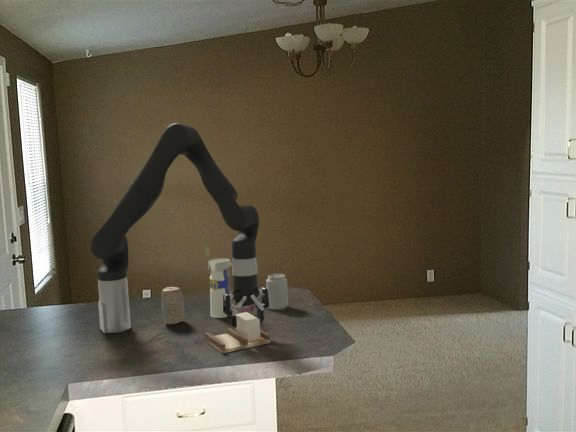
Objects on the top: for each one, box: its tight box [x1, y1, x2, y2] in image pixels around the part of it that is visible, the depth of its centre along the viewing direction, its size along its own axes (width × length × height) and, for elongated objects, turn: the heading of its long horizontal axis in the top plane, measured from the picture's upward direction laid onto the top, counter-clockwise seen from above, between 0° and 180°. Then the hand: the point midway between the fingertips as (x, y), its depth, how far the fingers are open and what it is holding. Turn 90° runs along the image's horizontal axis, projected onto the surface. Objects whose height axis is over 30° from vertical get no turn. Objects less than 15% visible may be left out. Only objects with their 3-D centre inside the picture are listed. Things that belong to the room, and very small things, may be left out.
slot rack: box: [204, 327, 271, 354], centre depth 177 cm, size 16×13×2 cm
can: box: [265, 273, 289, 311], centre depth 211 cm, size 8×8×12 cm
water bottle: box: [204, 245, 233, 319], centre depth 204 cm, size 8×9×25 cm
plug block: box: [235, 312, 261, 341], centre depth 178 cm, size 9×4×6 cm, turn 29°
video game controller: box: [237, 304, 256, 315], centre depth 200 cm, size 10×5×7 cm, turn 169°
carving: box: [160, 286, 186, 325], centre depth 198 cm, size 6×8×12 cm
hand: (247, 324), depth 178 cm, fingers open, 8 cm apart
